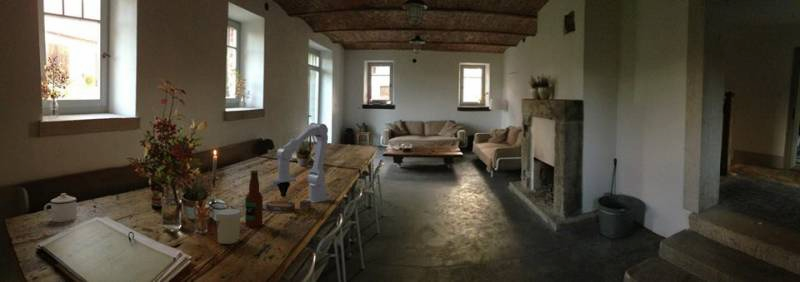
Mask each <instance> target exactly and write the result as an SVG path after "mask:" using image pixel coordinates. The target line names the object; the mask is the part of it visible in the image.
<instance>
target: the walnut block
mask: <svg viewBox="0 0 800 282" xmlns="http://www.w3.org/2000/svg"><path fill="white" fill-rule="evenodd" d="M299 209H300V210H305V211H306V210H308V209H312V202H311V201H309V200H306V199H303V200H300V201H299Z"/></svg>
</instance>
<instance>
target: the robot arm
mask: <svg viewBox="0 0 800 282" xmlns="http://www.w3.org/2000/svg"><path fill="white" fill-rule="evenodd" d="M328 132H329V128H328V127H327V124H325V123H316V122H311V123H310V124H309V125H307V126H306V128H305V129H304V130H303V131H302V132H301V134H300V135H298V136H297V137H296V138H292V139H289V142H288V143H287V144H284V145H283V147H281V148H278V149H277V151H276V153H275V156H276V158H277V178H276V179H273V180H270V185H272V186H274V185H276V186H277V188H278V190H279V192H280V196H281V197H283V198H284V197H286V196H287V193H288V189H289V188H290V186H291V183H292V182H297V178H296V177H290V160H291V159H292V157H293V154H294V153H295V152H296V151H297V150H298V149H300V148H301V144H302V143H303V142H305V141H306V140H307V139H309V138H310V137H312V136H313V137H315V139H316V140H317V142H316V148H315V153H314V159H313V164H312V168H311V169H309V171H308V174H307V176H306V181H307V183H308V188H309V189H308V192H309V194H308V198H306V199H305V200H309V201H311V203H313V204H316V203H320V202H325V201H328V199H327V186H326V185H325V183H326V172H325V170H324V169H323V168H324V163H325V157H326V152H327V146H328V141H329V136H328V134H329V133H328Z"/></svg>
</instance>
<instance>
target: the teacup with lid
mask: <svg viewBox="0 0 800 282" xmlns="http://www.w3.org/2000/svg"><path fill="white" fill-rule="evenodd" d="M77 200H78V199H77V198H76V197H74V196H71V195H68V194H67V193H65V192H64V193H63V192H62V193H61V194H60V196H57V197H55V198H53V199H51V200H50V202H49V203H46V204H45V205H44V207H43V210H44V212H45V214H47V215H51V222H55V223H66V222H71V221H74V220H76V219H77V217H78V215H77V214H78V213H77ZM48 206H50V207H51V208H50V209H51V212H50V211H49V210H48Z"/></svg>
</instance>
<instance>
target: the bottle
mask: <svg viewBox="0 0 800 282" xmlns="http://www.w3.org/2000/svg"><path fill="white" fill-rule="evenodd" d="M258 176H259V170H256V169H255V170H250V180H249V185H248V193H247V195H246V196H245V198H244V200H245V204H244V205H245V209H244V210H245V211H244V212H245V215H244V217H245V224H244V225H245V226H246V227H249V228H258V227H261V225H262V224H263V209H262V208H263V205H264V204H263V202H264V201H263V198H264V197H263V195H262V193H261V192H260V182H259V177H258Z"/></svg>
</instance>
